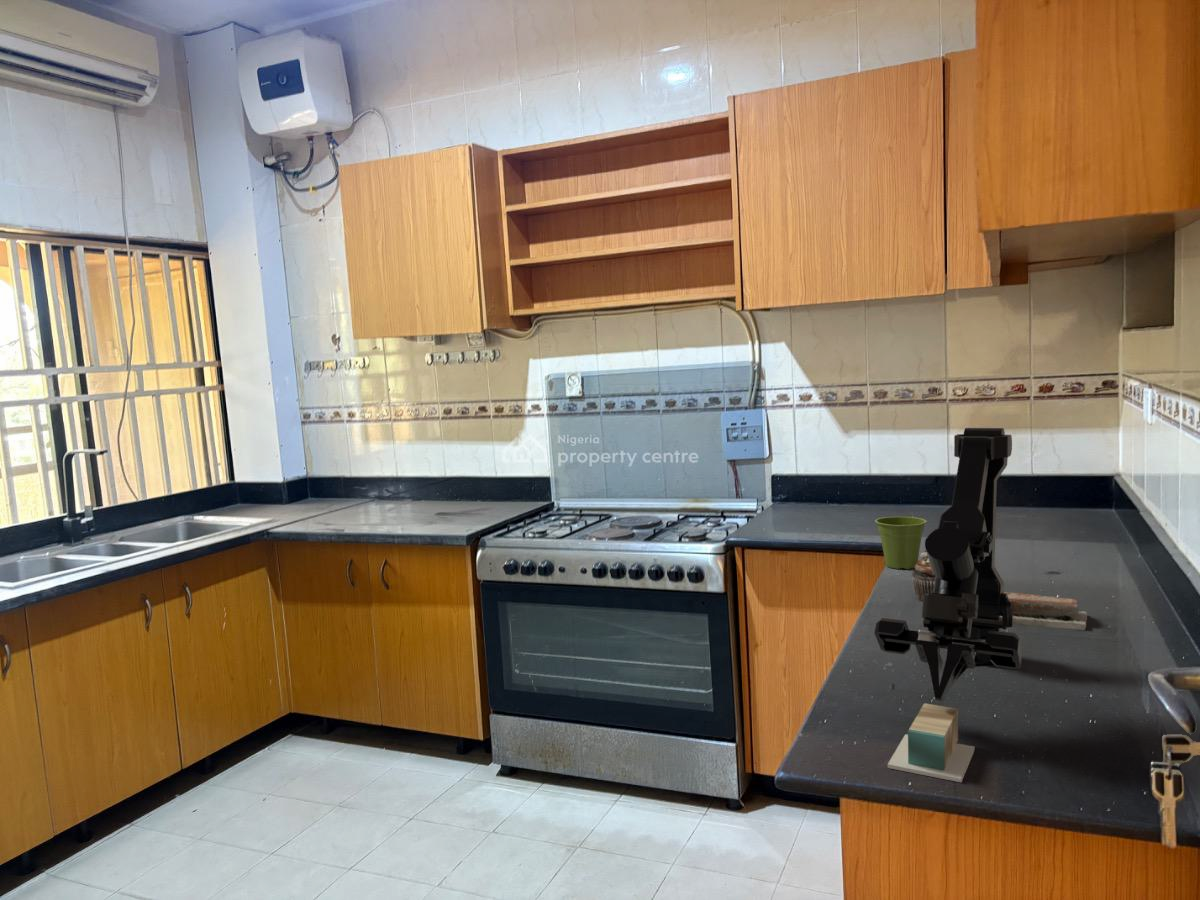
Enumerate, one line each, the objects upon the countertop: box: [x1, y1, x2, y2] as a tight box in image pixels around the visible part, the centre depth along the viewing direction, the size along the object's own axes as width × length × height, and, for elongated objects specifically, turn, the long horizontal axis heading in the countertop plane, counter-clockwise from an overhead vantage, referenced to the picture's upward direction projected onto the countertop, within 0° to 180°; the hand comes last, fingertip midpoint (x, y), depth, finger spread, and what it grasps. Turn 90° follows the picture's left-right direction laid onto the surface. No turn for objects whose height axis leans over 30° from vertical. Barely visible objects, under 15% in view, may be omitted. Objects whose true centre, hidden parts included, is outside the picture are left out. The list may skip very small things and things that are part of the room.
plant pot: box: [874, 516, 928, 570], centre depth 217 cm, size 12×12×11 cm
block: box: [907, 703, 959, 770], centre depth 119 cm, size 4×4×10 cm
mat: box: [887, 733, 976, 783], centre depth 118 cm, size 10×9×1 cm
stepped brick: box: [1000, 591, 1088, 631], centre depth 173 cm, size 18×5×10 cm
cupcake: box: [911, 550, 935, 603], centre depth 189 cm, size 10×10×10 cm
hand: (938, 699), depth 121 cm, fingers closed
